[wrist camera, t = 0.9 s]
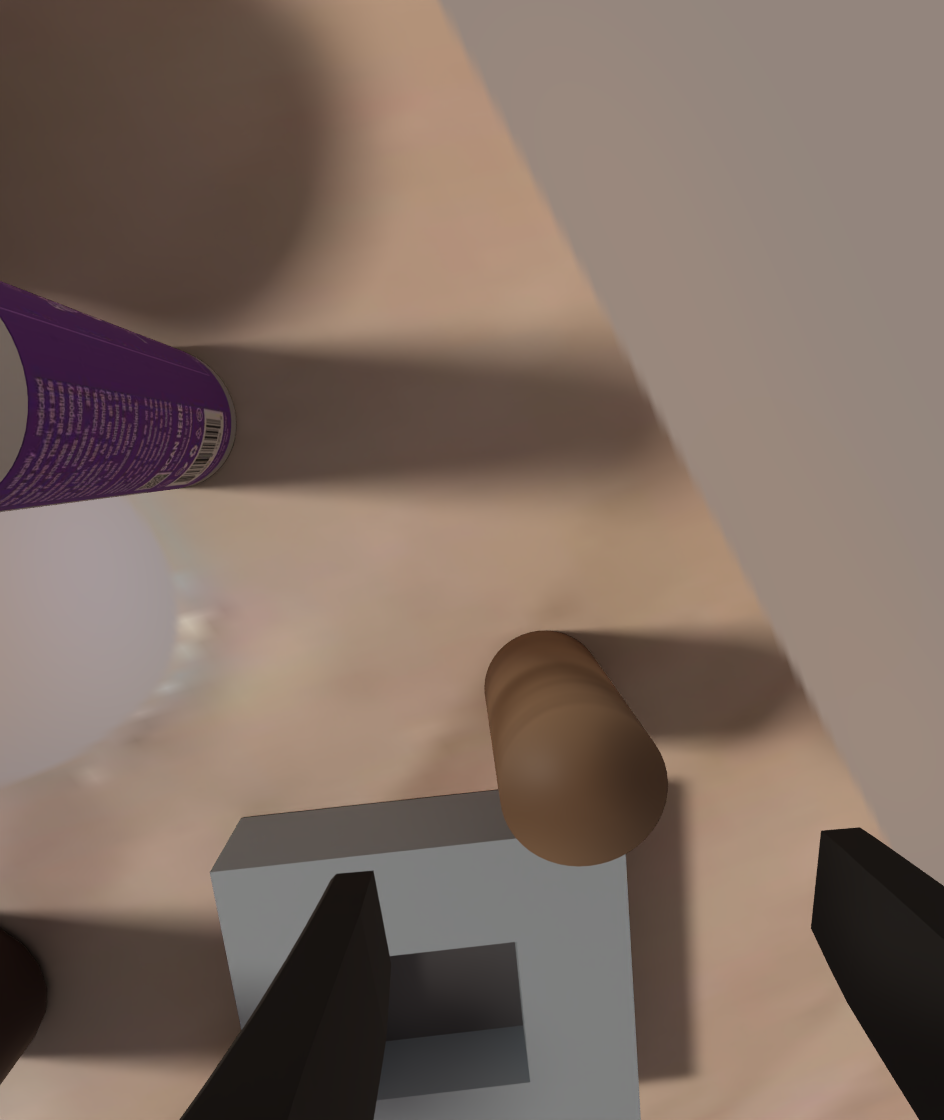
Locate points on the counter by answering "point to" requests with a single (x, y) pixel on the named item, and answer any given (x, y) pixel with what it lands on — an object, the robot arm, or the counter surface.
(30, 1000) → the bottle
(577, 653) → the peg
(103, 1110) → the counter surface
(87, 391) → the container
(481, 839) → the socket block
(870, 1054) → the counter surface
